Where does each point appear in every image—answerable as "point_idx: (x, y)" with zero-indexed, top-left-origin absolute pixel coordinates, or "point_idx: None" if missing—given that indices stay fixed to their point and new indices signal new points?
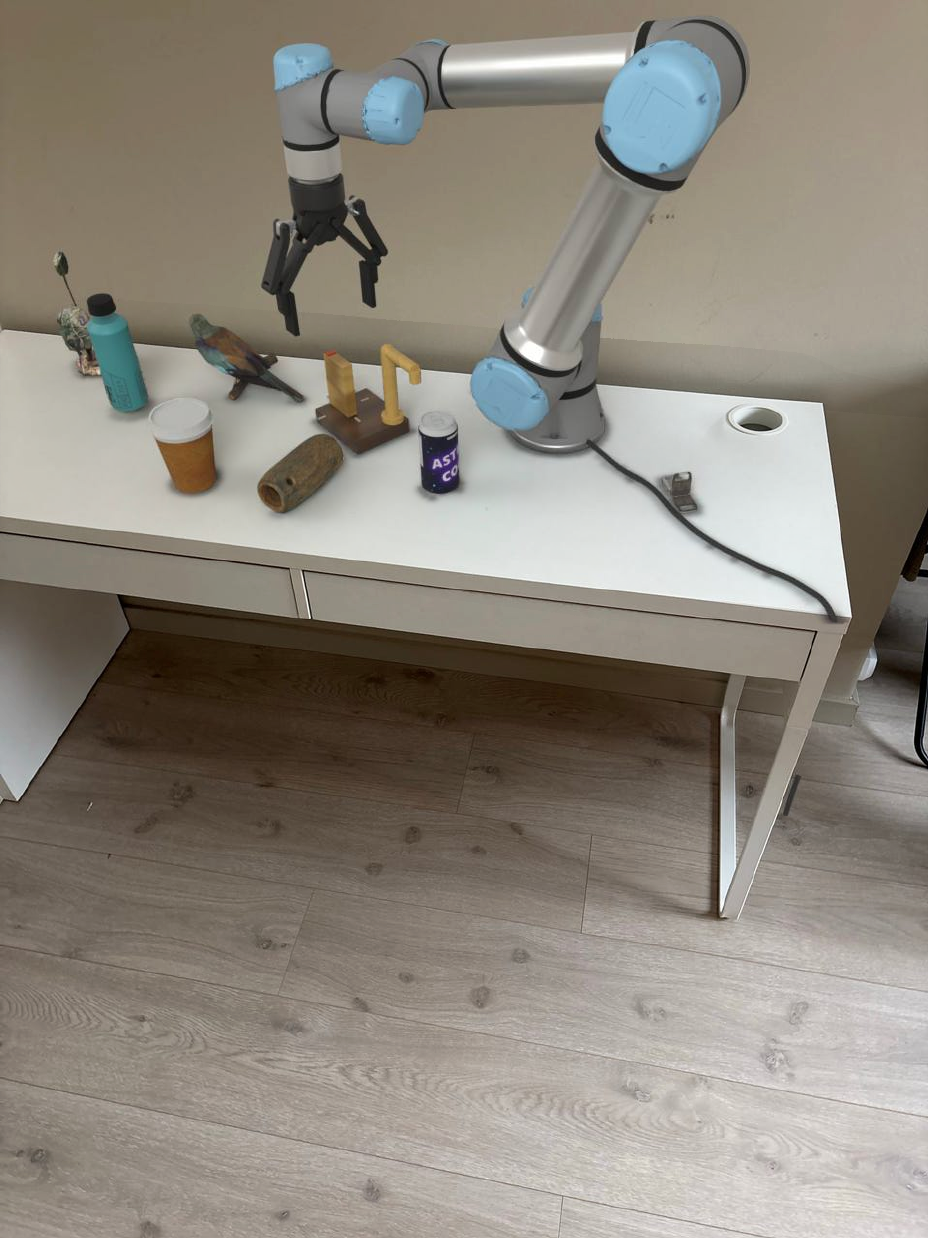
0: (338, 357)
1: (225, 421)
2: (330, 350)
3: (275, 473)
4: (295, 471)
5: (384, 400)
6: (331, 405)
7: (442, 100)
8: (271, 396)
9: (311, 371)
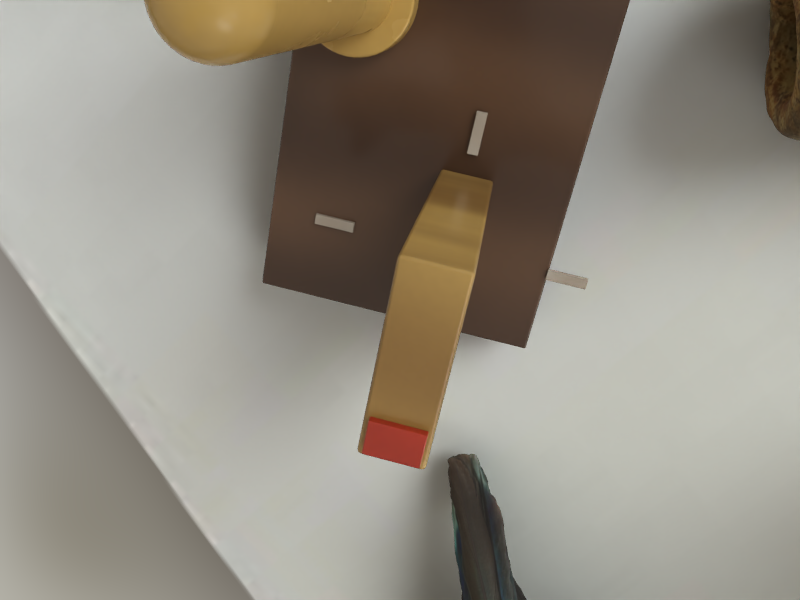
0: (396, 374)
1: (726, 582)
2: (378, 455)
3: None
4: None
5: (369, 19)
6: None
7: None
8: None
9: (290, 543)
